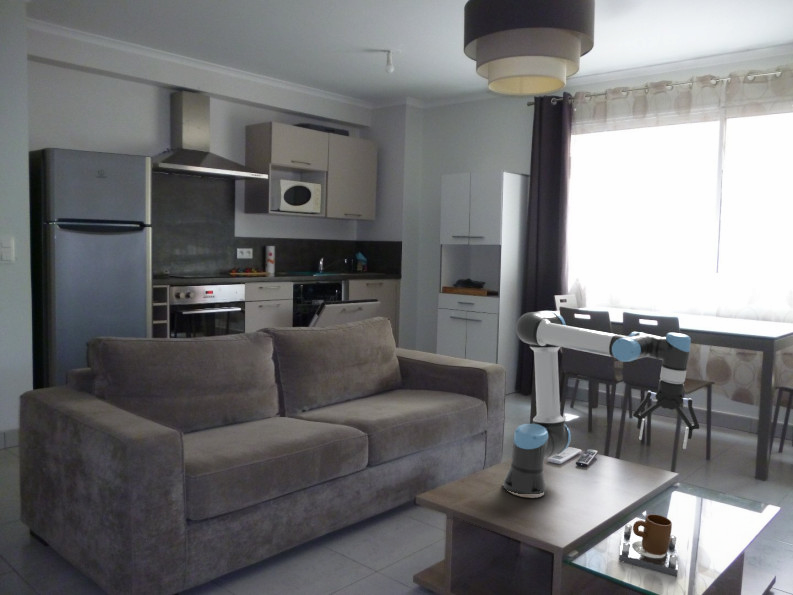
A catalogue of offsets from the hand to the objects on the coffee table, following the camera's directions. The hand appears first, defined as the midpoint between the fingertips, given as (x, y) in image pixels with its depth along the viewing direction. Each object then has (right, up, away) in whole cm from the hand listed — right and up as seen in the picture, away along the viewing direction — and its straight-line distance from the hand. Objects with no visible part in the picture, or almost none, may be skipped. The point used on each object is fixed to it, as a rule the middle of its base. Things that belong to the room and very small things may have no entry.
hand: (662, 443), depth 216 cm
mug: (-11, -29, -17) cm, 35 cm away
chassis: (-11, -31, -17) cm, 37 cm away
